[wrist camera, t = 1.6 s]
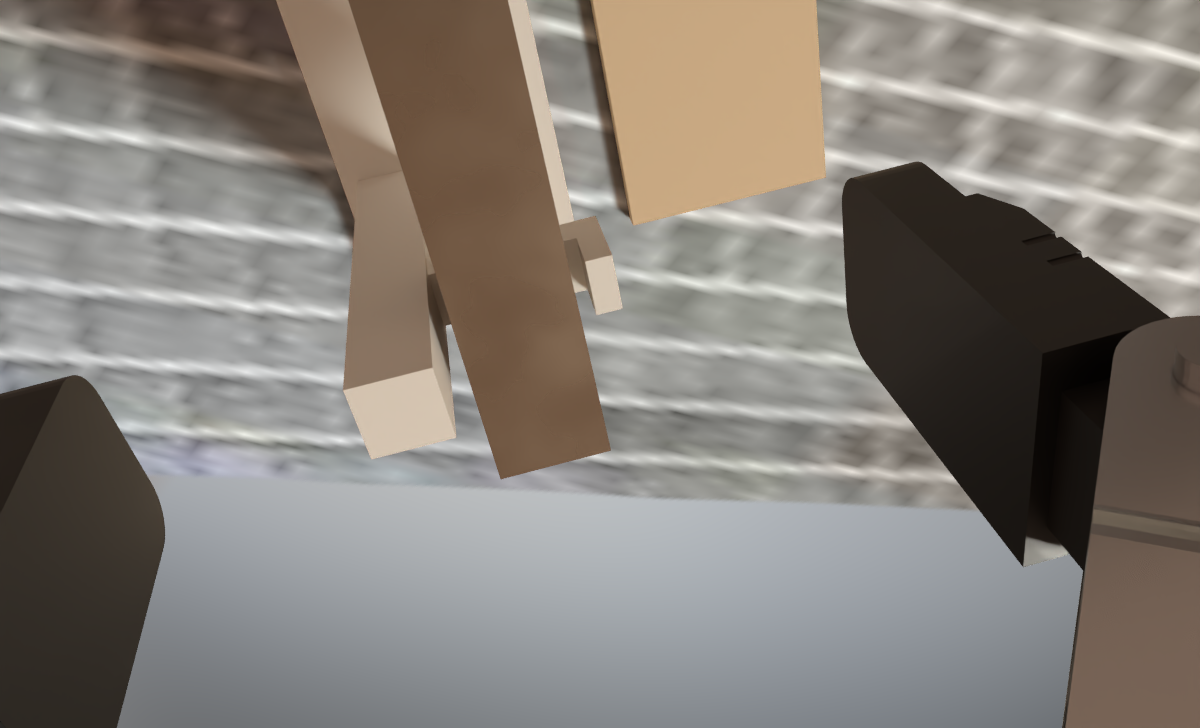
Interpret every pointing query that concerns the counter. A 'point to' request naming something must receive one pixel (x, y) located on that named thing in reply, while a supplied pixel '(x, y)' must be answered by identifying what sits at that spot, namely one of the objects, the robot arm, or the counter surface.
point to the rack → (409, 234)
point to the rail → (487, 220)
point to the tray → (711, 99)
